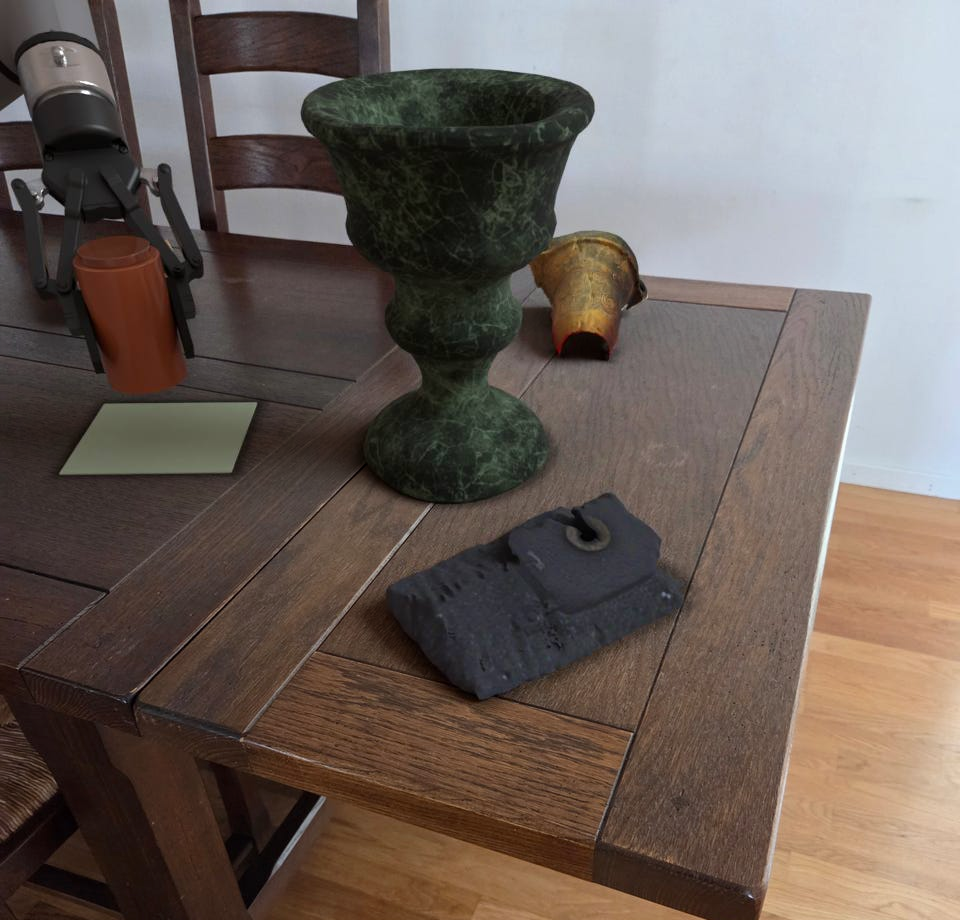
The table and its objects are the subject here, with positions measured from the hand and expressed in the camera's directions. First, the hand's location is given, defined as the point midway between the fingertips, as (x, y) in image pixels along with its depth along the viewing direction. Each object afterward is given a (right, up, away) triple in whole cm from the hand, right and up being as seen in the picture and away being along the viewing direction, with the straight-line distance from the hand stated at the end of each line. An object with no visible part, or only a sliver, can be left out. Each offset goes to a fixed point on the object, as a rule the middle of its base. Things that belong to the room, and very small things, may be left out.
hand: (144, 359), depth 79 cm
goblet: (+28, -7, +7) cm, 29 cm away
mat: (-1, -5, +9) cm, 10 cm away
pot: (+42, +13, +29) cm, 53 cm away
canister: (-1, 0, +4) cm, 5 cm away
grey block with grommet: (+34, -22, -10) cm, 42 cm away
